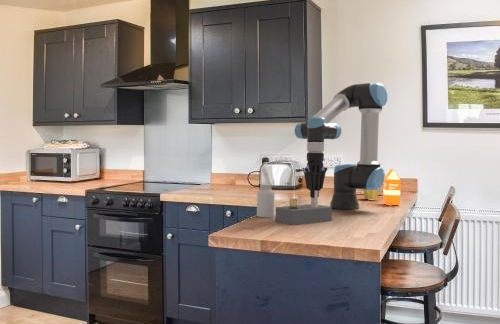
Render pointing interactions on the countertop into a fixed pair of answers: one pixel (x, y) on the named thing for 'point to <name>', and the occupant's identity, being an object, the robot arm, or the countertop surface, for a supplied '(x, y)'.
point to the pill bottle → (265, 201)
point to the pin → (293, 203)
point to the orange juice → (391, 189)
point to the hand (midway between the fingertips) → (314, 204)
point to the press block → (303, 214)
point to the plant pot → (371, 194)
